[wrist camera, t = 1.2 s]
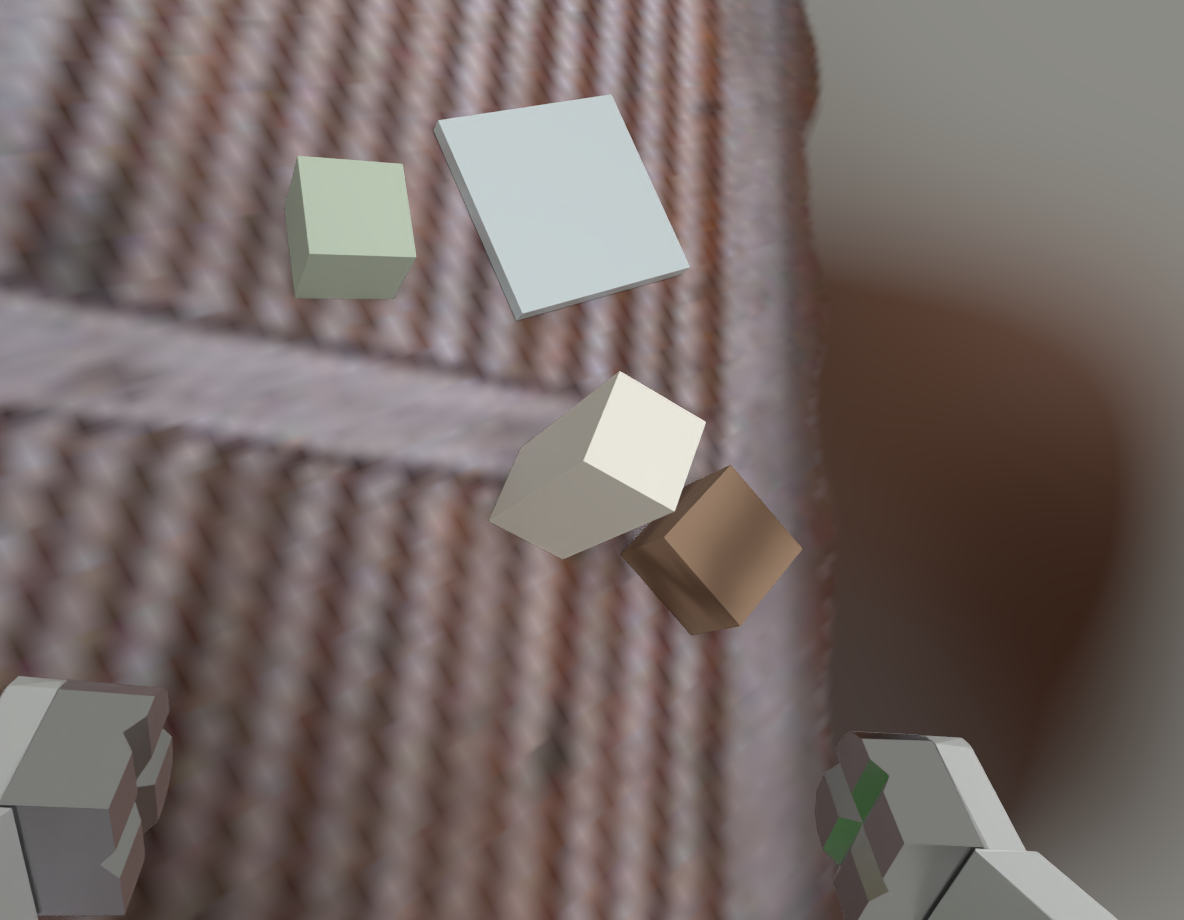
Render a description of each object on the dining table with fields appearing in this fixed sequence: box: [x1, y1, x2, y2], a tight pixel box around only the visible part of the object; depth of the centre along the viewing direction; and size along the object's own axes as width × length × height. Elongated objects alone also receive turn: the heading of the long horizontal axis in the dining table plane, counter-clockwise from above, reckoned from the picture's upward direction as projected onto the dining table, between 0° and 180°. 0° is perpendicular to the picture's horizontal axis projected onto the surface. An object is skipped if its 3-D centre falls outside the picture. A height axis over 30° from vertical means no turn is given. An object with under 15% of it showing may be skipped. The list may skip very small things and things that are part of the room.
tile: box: [434, 95, 690, 321], centre depth 54 cm, size 12×12×1 cm
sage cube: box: [284, 156, 416, 299], centre depth 46 cm, size 5×5×5 cm
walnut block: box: [621, 465, 802, 635], centre depth 50 cm, size 6×6×5 cm
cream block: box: [489, 371, 706, 560], centre depth 44 cm, size 4×4×12 cm
